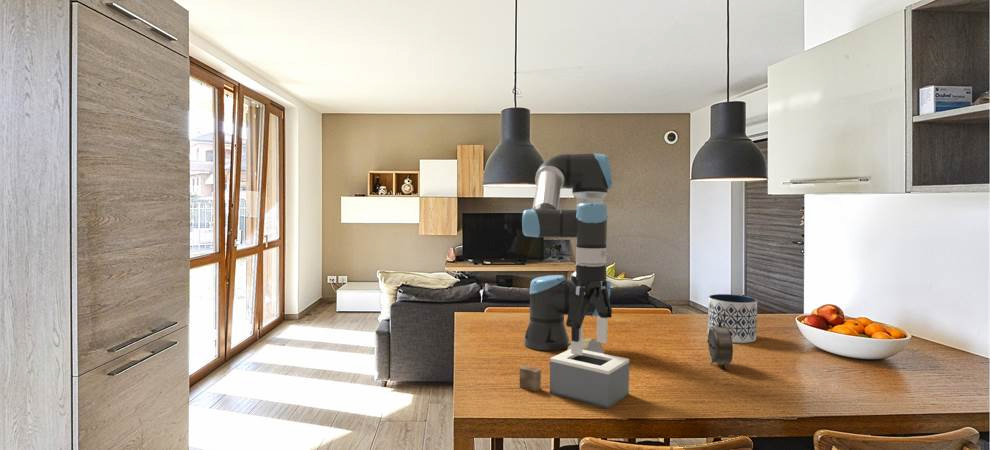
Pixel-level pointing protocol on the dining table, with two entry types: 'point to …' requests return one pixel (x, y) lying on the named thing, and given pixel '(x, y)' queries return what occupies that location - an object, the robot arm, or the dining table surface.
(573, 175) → the robot arm
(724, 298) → the planter
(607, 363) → the box
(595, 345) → the coral
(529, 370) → the stand
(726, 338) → the alarm clock
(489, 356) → the dining table surface
